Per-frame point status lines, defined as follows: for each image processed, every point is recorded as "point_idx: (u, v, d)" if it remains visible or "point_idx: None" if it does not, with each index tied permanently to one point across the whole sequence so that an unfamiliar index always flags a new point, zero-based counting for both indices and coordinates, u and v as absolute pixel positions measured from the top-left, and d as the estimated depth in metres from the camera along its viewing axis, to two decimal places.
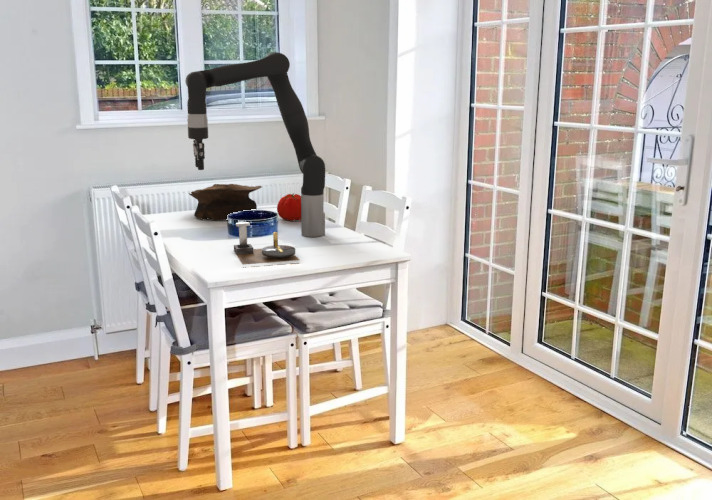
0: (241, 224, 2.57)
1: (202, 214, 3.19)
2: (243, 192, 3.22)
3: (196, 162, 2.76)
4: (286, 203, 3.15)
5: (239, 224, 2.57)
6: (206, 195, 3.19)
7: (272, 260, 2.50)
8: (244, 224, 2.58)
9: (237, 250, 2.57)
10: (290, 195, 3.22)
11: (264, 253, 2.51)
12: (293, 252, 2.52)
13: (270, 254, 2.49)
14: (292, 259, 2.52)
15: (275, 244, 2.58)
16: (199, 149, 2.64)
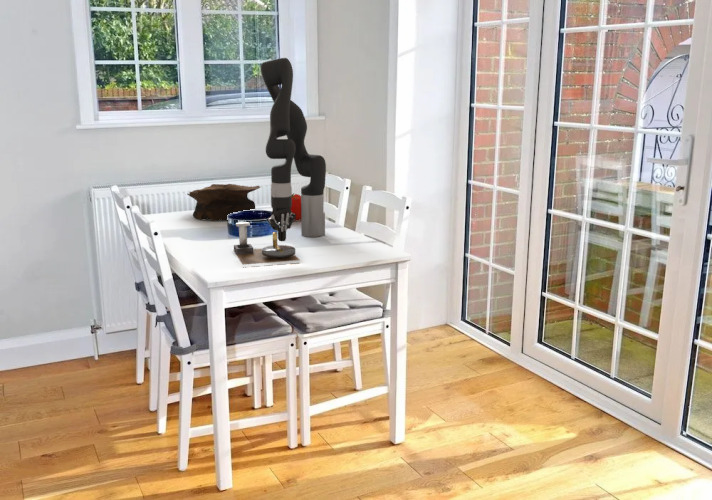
0: (241, 224, 2.57)
1: (201, 214, 3.18)
2: (242, 192, 3.22)
3: None
4: None
5: (239, 224, 2.57)
6: (205, 195, 3.18)
7: (272, 260, 2.50)
8: (244, 224, 2.58)
9: (237, 250, 2.57)
10: None
11: (264, 253, 2.51)
12: (293, 252, 2.52)
13: (271, 254, 2.49)
14: (292, 259, 2.52)
15: (275, 244, 2.58)
16: None
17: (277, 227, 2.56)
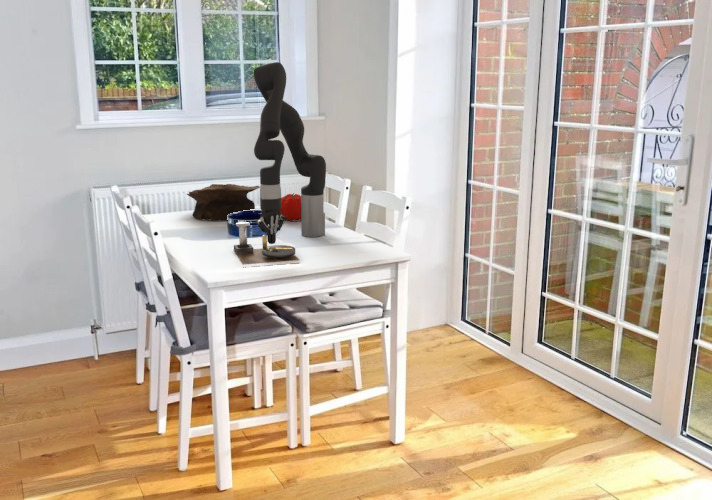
0: (241, 224, 2.57)
1: (201, 214, 3.18)
2: (242, 192, 3.21)
3: None
4: (286, 203, 3.15)
5: (239, 224, 2.57)
6: (204, 196, 3.18)
7: (272, 260, 2.50)
8: (244, 224, 2.58)
9: (237, 250, 2.57)
10: (290, 195, 3.22)
11: (282, 255, 2.49)
12: None
13: (289, 253, 2.50)
14: (292, 259, 2.52)
15: (266, 247, 2.54)
16: None
17: (266, 229, 2.52)
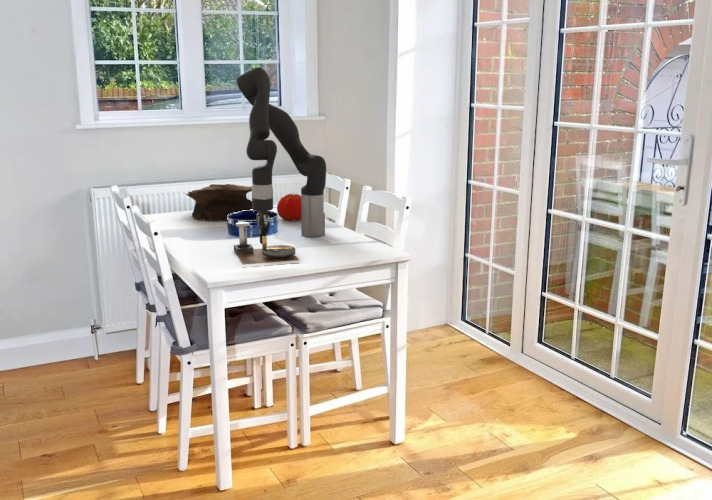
0: (241, 224, 2.57)
1: (200, 214, 3.18)
2: (241, 192, 3.21)
3: None
4: (286, 203, 3.15)
5: (239, 224, 2.57)
6: (204, 196, 3.18)
7: (272, 260, 2.50)
8: (244, 224, 2.58)
9: (237, 250, 2.57)
10: (290, 195, 3.22)
11: (284, 254, 2.49)
12: None
13: (291, 253, 2.51)
14: (292, 259, 2.52)
15: (266, 247, 2.53)
16: None
17: None
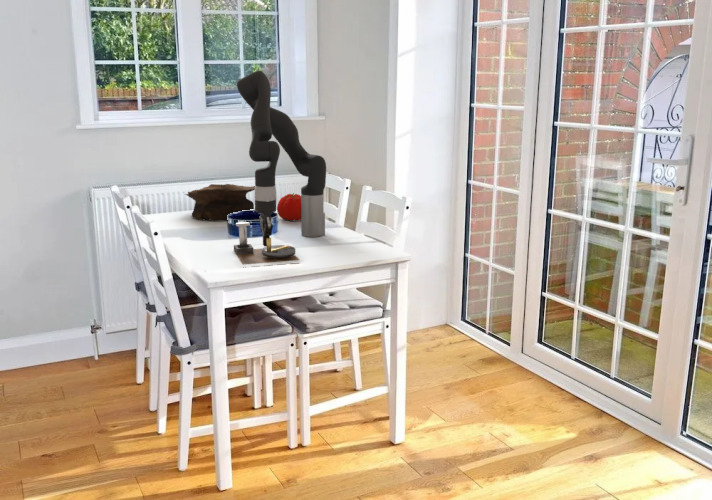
0: (241, 224, 2.57)
1: (200, 214, 3.18)
2: (241, 192, 3.21)
3: None
4: (286, 203, 3.15)
5: (239, 224, 2.57)
6: (204, 196, 3.18)
7: (272, 260, 2.50)
8: (244, 224, 2.58)
9: (237, 250, 2.57)
10: (290, 195, 3.22)
11: (294, 252, 2.53)
12: None
13: None
14: (292, 259, 2.52)
15: None
16: None
17: None
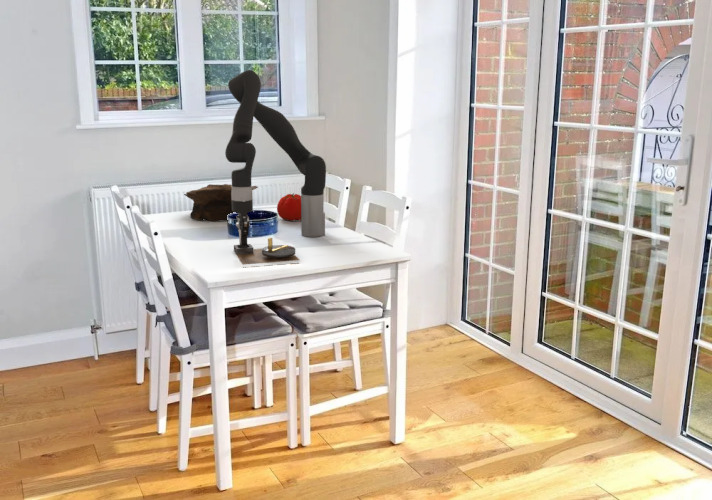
0: None
1: (199, 214, 3.17)
2: None
3: None
4: (286, 203, 3.15)
5: None
6: (203, 196, 3.17)
7: (272, 260, 2.50)
8: None
9: (237, 250, 2.57)
10: (290, 195, 3.22)
11: (294, 251, 2.54)
12: None
13: None
14: (292, 259, 2.52)
15: None
16: None
17: None
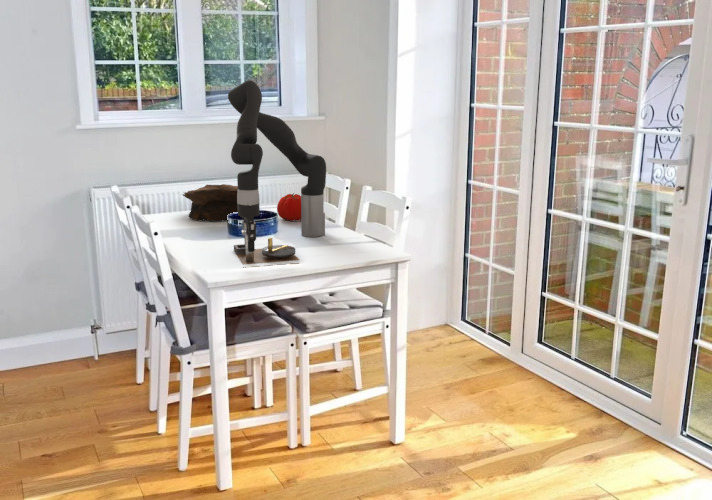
0: None
1: (198, 215, 3.16)
2: None
3: None
4: (286, 203, 3.15)
5: None
6: (201, 196, 3.17)
7: (272, 260, 2.50)
8: None
9: (237, 250, 2.57)
10: (290, 195, 3.22)
11: (294, 251, 2.54)
12: None
13: None
14: (292, 259, 2.52)
15: None
16: None
17: None
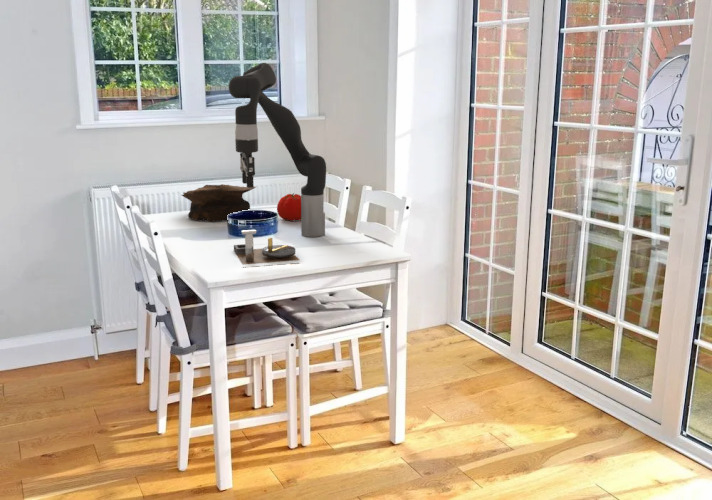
0: (247, 232, 2.45)
1: (197, 215, 3.16)
2: (238, 192, 3.21)
3: None
4: (286, 203, 3.15)
5: (245, 232, 2.45)
6: (201, 196, 3.16)
7: (272, 260, 2.50)
8: (250, 232, 2.46)
9: (237, 250, 2.57)
10: (290, 195, 3.22)
11: (294, 251, 2.54)
12: None
13: None
14: (292, 259, 2.52)
15: None
16: None
17: None
